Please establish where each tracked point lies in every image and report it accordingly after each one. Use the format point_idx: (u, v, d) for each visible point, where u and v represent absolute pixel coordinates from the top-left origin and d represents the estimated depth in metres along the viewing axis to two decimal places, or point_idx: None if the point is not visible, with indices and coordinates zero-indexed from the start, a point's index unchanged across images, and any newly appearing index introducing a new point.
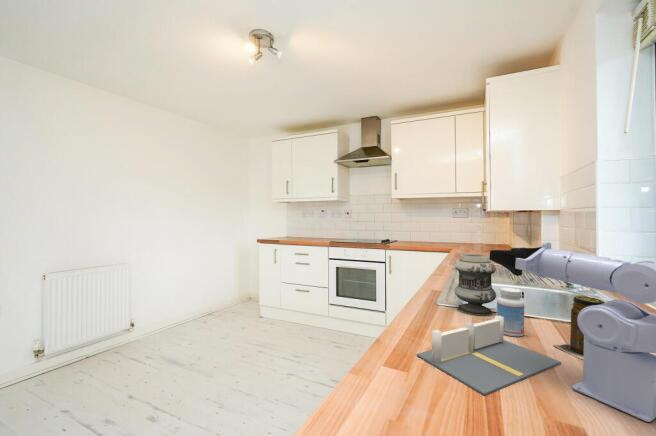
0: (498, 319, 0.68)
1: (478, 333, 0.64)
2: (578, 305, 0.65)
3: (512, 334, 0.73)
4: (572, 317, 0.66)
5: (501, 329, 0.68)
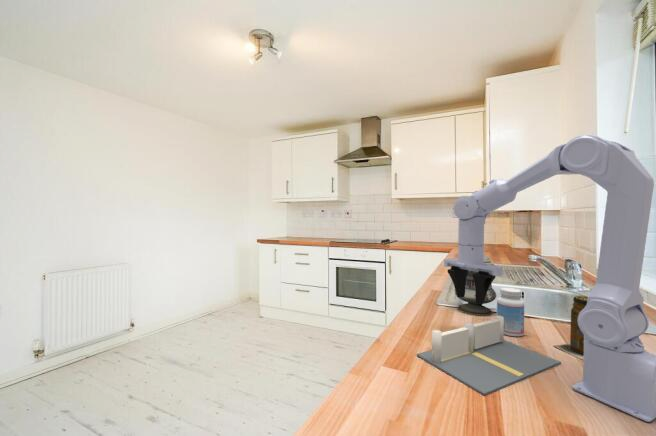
0: (498, 319, 0.68)
1: (478, 333, 0.64)
2: (578, 305, 0.65)
3: (512, 334, 0.73)
4: (572, 317, 0.66)
5: (501, 329, 0.68)
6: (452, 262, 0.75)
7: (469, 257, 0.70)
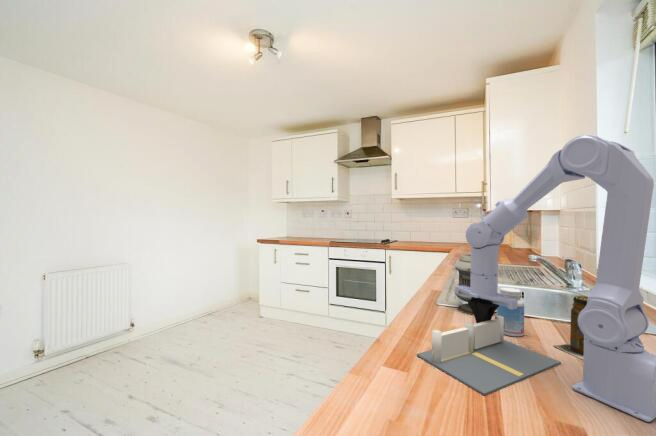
0: (498, 319, 0.68)
1: (478, 333, 0.64)
2: (578, 305, 0.65)
3: (512, 334, 0.73)
4: (572, 317, 0.66)
5: (501, 329, 0.68)
6: (464, 290, 0.72)
7: (482, 287, 0.67)
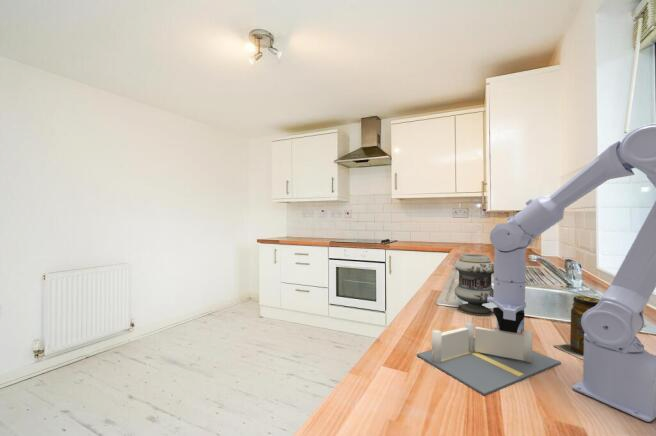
0: (522, 334, 0.59)
1: (480, 336, 0.62)
2: (578, 305, 0.65)
3: None
4: (572, 317, 0.66)
5: (525, 346, 0.59)
6: None
7: (495, 292, 0.62)
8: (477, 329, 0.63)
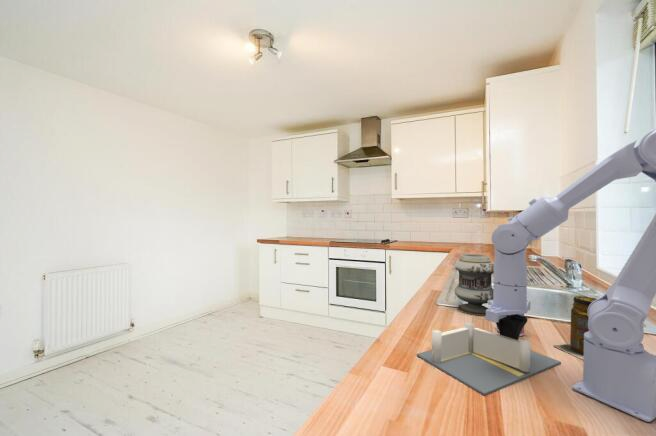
0: (519, 341, 0.56)
1: (478, 338, 0.62)
2: (578, 305, 0.65)
3: None
4: (572, 317, 0.66)
5: (520, 354, 0.55)
6: None
7: (493, 295, 0.60)
8: (475, 330, 0.62)
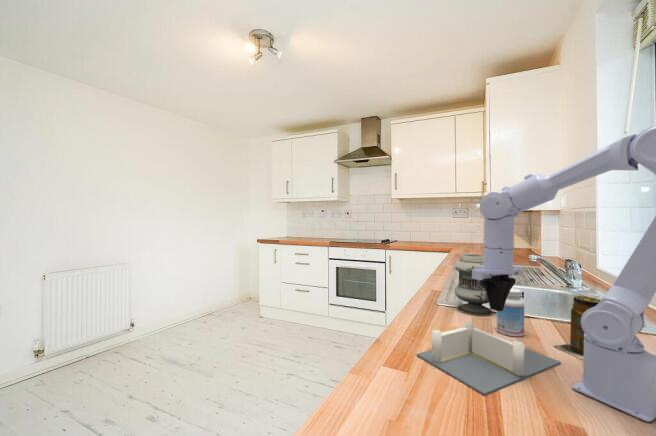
0: (512, 343, 0.55)
1: (476, 338, 0.62)
2: (578, 305, 0.65)
3: (512, 334, 0.73)
4: (572, 317, 0.66)
5: (513, 357, 0.54)
6: None
7: (483, 259, 0.65)
8: (474, 330, 0.62)
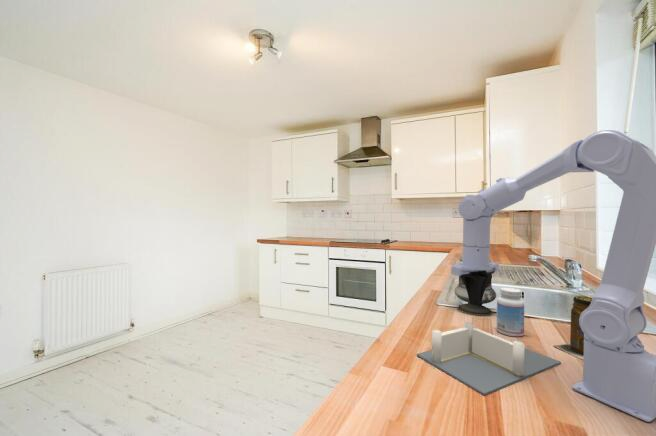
0: (512, 343, 0.55)
1: (476, 338, 0.62)
2: (578, 305, 0.65)
3: (512, 334, 0.73)
4: (572, 317, 0.66)
5: (513, 357, 0.54)
6: None
7: None
8: (474, 330, 0.62)
